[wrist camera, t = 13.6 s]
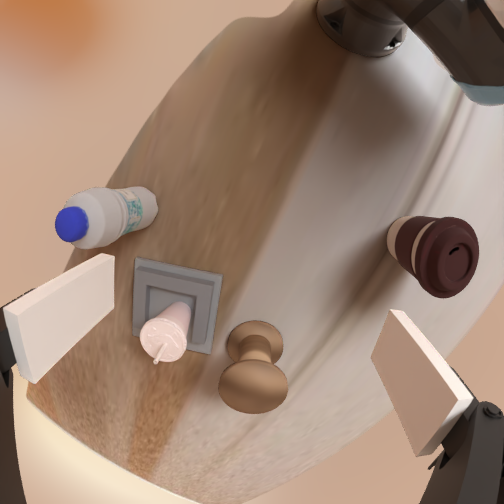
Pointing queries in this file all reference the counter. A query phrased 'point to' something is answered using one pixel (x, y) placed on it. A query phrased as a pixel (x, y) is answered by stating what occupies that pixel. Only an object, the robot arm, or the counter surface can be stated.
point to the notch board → (177, 298)
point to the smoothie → (167, 333)
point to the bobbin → (254, 369)
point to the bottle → (105, 215)
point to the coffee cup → (435, 252)
